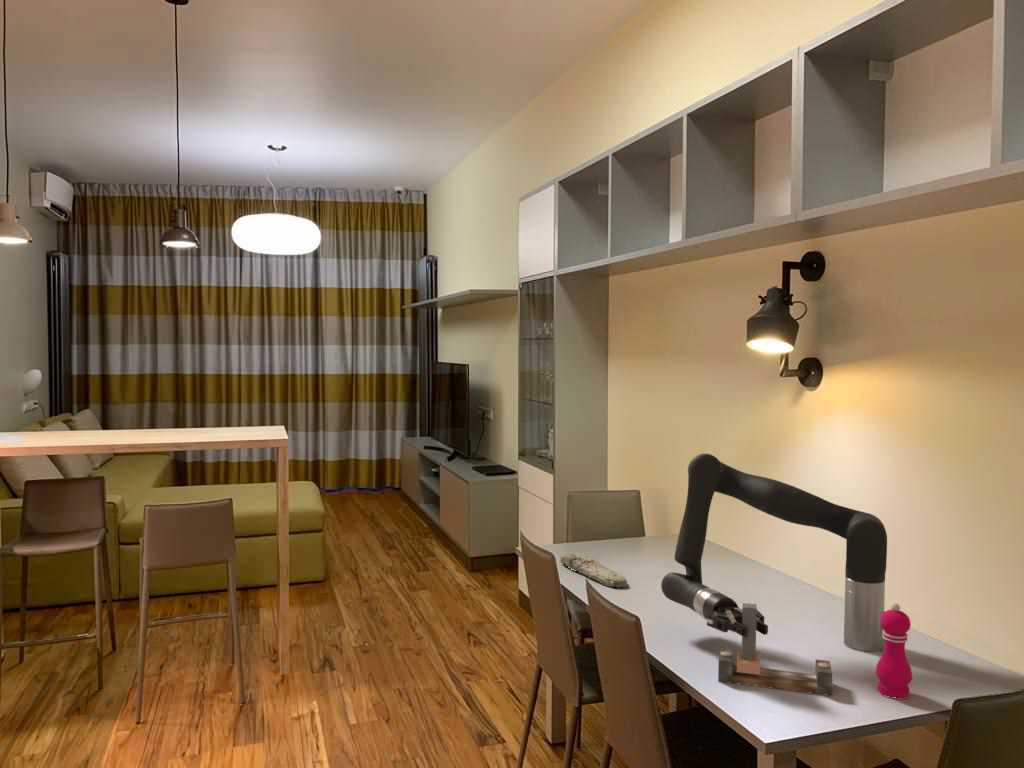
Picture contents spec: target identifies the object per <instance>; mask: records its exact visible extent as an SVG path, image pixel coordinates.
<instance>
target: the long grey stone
mask: <svg viewBox="0 0 1024 768" xmlns="http://www.w3.org/2000/svg"><path fill="white" fill-rule="evenodd" d="M560 563H561V564H562V565H564V564H565V565H567V566H568V567H570V568H572V569H574V570H576V571H578V572H579V573H578V572H577V573H578V574H581V573H582V574H581V575H584V576H585V577H587V578H589V579H592V580H594V581H596V582H597V581H598V582H597V583H599V582H600V583H599V584H601V583H602V584H601V585H603V584H605V585H604V586H607V587H610V586H611V587H610V588H613V587H625V588H627V586H628V581H627V579H626V577H625V576H624V575H622V574H620V573H618V572H617V571H614V570H612V569H609V568H608V567H605V566H604V564H603V565H602V564H601V563H600V562H599V561H598V560H595V559H593V558H590V557H588V556H583V555H579V554H574V553H564V554H561V555H560ZM565 565H564V566H565ZM568 567H567V568H568ZM570 568H569V569H570Z"/></svg>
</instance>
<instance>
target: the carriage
mask: <svg viewBox="0 0 1024 768" xmlns="http://www.w3.org/2000/svg"><path fill="white" fill-rule="evenodd" d="M757 608H758V607H757V604H756V603H748V602H747V603H746V602H743V603H742V610H743V615H742V625H744V626H745V627H747V629H748V636H747V637H743V636H741V638H742V639H741V650H737V658H736V665H737V672H741V673H750V674H758V675H760V668H761V653H759V652H757V649H756V648H757V630H756V610H758V609H757Z"/></svg>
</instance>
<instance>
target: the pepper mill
mask: <svg viewBox="0 0 1024 768" xmlns="http://www.w3.org/2000/svg"><path fill="white" fill-rule="evenodd" d="M890 608H891V609H887V610H884V611H885V612H884V613H883V614H882V615H881V618H880V624H881V626H882V627H883V629H884V630H883V631H882V633H883V635H882V637H883V638H884V642H885V646H884V651H882V654H881V656H880V657H879V660H878V661H877V664H876V667H875V674H876V676H877V678H878V680H879V681H878V682H877V691H879V692H880V693H881V694H880V693H879V692H878V693H879V694H880V695H882V694H883V695H882V696H884V695H886V696H889V697H896V698H905V697H908V696H909V697H910V687H909V684H910V683H911V682H912V681H913V671H912V667H911V666H910V663H909V660H908V657H907V656H906V646H905V645H906V643H907V642H908V640H909V639H908V633H907V632H909V631H910V629H911V619H910V617H909V615H908V614H906V613H905V611H904V612H903V611H902V610H901V606H900V605H899V604H898V603H895V602H894V603H892V604H891V607H890ZM886 696H885V697H886ZM889 697H888V698H889ZM909 697H908V698H909ZM905 699H906V698H905Z"/></svg>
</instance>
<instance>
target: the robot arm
mask: <svg viewBox="0 0 1024 768" xmlns="http://www.w3.org/2000/svg"><path fill="white" fill-rule="evenodd" d="M687 474H688V476H687V477H688V480H687V481H688V482H687V494H686V495H687V496H686V503H685V507H684V513H683V517H682V521H681V525H680V528H679V533H678V538H677V542H676V546H675V547H676V548H675V551H674V561H675V562H677V563H678V564H679V565H682V566H684V568H685V574H684V573H679V572H672V571H671V572H669V573H667V574H665V575H664V577H663V578H662V580H661V585H660V586H661V591H662V593H663V595H664V597H666V598H667V599H668V600H670V601H672V602H674V603H675V604H679V605H682V606H684V607H687V608H689V609H690V610H691V611H693V612H694V613H697V614H698V615H699V616H700V617H701V618H703V619H704V620H706V626H707V627H711V628H713V629H715V630H717V631H720V632H722V633H728V632H729V631H730V632H731V633H733V634H734V633H736V634H737V635H740V636H741V637H742V636H743V637H747V636H748V629H747V627H745V626H744V625H742V615H743V608H740V607H739V606H738V604H737V602H736V601H735V600H734V599H732V598H731V597H729V596H727V595H726V594H723V593H722V592H720V591H718V590H716V589H713V588H710V587H708V586H707V585H705V584H703V575H702V558H703V555H704V548H705V544H706V538H707V530H708V523H709V522H708V521H709V514H710V508H711V504H712V500H713V497H714V494H715V493H719V494H722V495H725V496H728V497H730V498H731V497H732V498H734V499H737V500H739V501H741V502H742V503H744V504H746V505H748V506H750V507H752V508H754V509H755V510H758V511H759V512H760V511H761V512H762V513H765V514H768V515H769V516H772V517H774V518H777V519H780V520H783V521H785V522H788V523H790V524H796V525H800V526H806V527H812V528H817V529H822V530H824V531H827V532H830V533H832V534H834V535H837V536H839V537H841V538H843V539H845V540H846V541H845V543H846V544H845V545H846V547H845V549H846V550H845V551H846V553H845V571H844V572H845V573H844V574H845V576H844V577H845V578H844V579H845V580H844V616H843V617H844V618H843V619H844V622H843V623H844V624H843V643H844V645H845V646H847V647H849V648H851V649H854V650H858V651H861V652H879V651H882V652H884V646H885V642H884V638H883V637H882V635H883V633H882V631H883V630H884V629H883V627H882V626H881V624H880V618H881V615H882V614H883V613H884V612H885V611H886V610H885V599H886V598H885V596H886V594H885V591H886V589H885V588H886V571H887V558H888V557H887V556H888V552H887V551H888V535H887V534H888V533H887V530H886V528H885V525H884V523H883V522H882V520H881V519H880V518H879V517H877V516H876V515H875V514H872V513H868V512H864V511H860V510H858V509H853V508H850V507H846V506H843V505H838V504H836V503H833V502H830V501H828V500H826V499H824V498H821V497H820V496H818V495H815V494H814V493H811V492H808V491H806V490H804V489H801V488H799V487H796V486H794V485H792V484H791V485H790V484H787V483H786V482H783V481H779V480H776V479H773V478H769V477H765V476H760V475H754V474H751V473H746V472H743V471H741V470H739V469H736V468H734V467H732V466H730V465H728V464H726V463H723V462H722V461H720V460H719V458H717V457H716V456H714V455H712V454H710V453H701V454H697V455H695V456H694V457H693V458H692V459H691V460H690V462H689V464H688V468H687ZM756 632H759V633H760V634H762V635H764V636H765V635H768V633H769V625H768V624H766V623H765V616H764V615H763V614H762V612H761V611H759V610H758V609H757V610H756Z"/></svg>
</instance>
